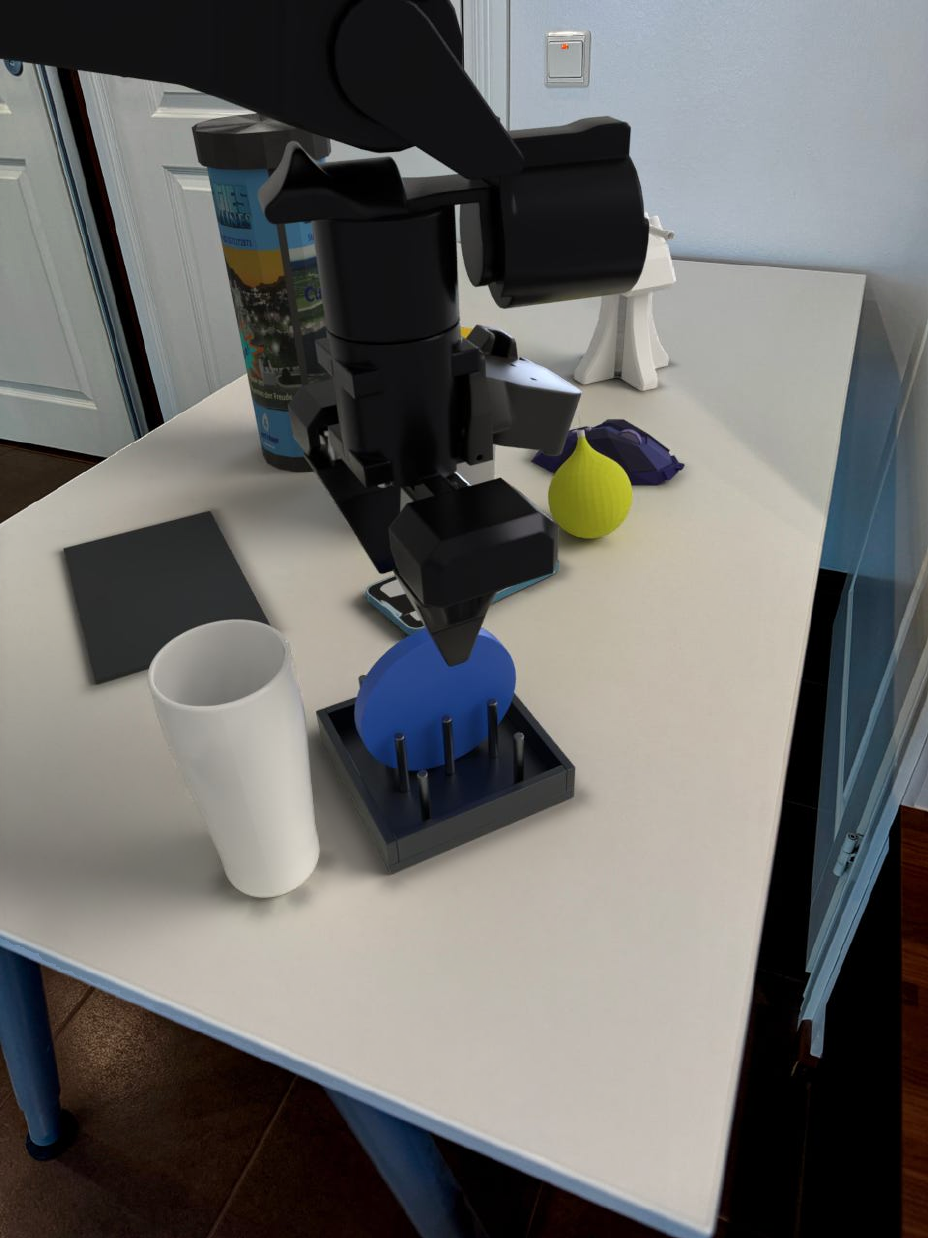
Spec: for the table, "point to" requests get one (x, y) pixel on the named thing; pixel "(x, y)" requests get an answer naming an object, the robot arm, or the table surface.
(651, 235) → the toy gun turret
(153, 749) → the table surface
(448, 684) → the plate
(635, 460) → the computer mouse
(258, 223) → the advertising column
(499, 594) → the smartphone
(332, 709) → the rack
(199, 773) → the drinking glass
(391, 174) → the robot arm
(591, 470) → the green fig
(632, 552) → the table surface
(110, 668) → the mat
